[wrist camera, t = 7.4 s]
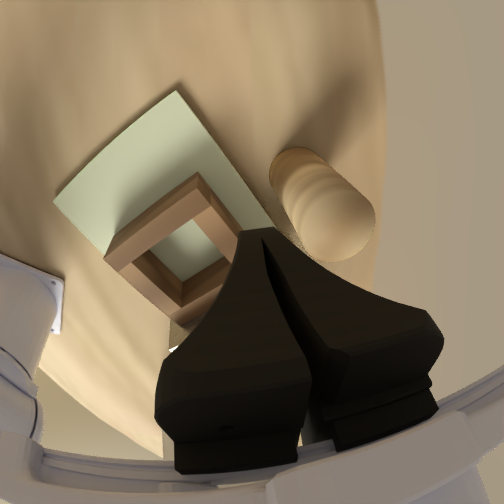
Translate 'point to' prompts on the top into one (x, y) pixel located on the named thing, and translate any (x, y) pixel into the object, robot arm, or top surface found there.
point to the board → (158, 185)
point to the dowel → (321, 205)
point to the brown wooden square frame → (160, 226)
